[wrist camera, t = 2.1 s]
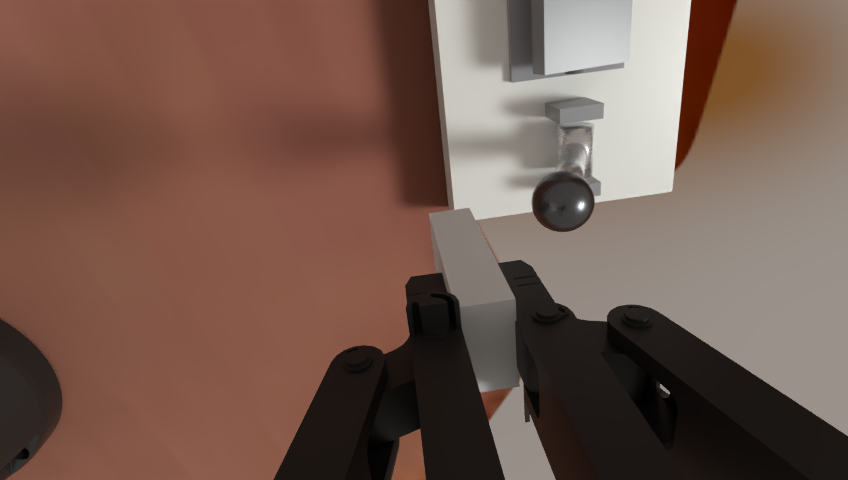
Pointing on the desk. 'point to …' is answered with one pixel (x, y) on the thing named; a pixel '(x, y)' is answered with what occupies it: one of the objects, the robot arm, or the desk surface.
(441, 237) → the robot arm
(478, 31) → the switch panel
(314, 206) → the desk surface
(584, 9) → the rocker switch
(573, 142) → the toggle lever
